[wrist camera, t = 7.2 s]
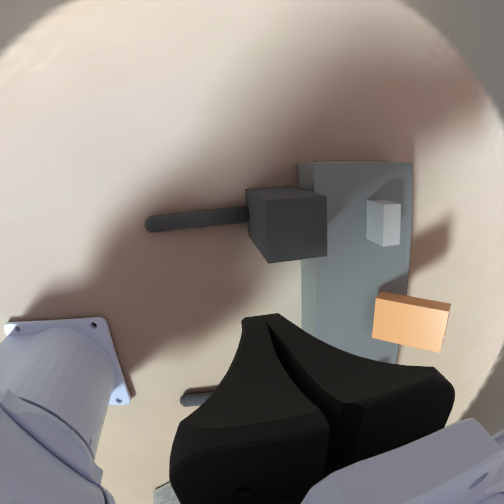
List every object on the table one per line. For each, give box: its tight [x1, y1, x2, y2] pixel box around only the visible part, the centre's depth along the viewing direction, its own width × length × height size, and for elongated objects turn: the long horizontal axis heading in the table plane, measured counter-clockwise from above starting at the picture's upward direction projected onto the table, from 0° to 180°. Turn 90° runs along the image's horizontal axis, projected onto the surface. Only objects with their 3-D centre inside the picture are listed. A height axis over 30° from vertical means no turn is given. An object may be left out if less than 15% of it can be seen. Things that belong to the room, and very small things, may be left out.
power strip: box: [297, 161, 413, 364], centre depth 21 cm, size 7×20×5 cm, turn 4°
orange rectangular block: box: [372, 291, 451, 353], centre depth 19 cm, size 1×3×5 cm
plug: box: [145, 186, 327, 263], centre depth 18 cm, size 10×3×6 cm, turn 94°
